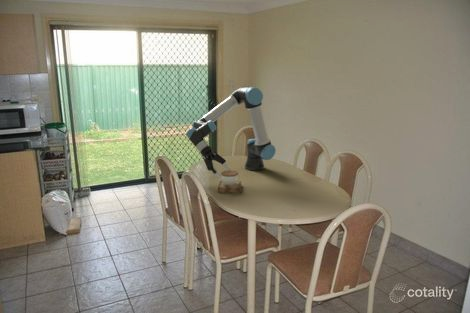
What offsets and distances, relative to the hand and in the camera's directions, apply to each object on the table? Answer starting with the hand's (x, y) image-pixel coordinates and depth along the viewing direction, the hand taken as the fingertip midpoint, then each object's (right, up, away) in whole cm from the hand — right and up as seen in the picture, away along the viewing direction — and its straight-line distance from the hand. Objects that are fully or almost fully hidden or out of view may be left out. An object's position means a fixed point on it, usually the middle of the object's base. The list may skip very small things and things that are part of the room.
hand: (224, 174), depth 226 cm
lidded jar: (+3, -7, +1) cm, 7 cm away
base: (+3, -10, +1) cm, 10 cm away
